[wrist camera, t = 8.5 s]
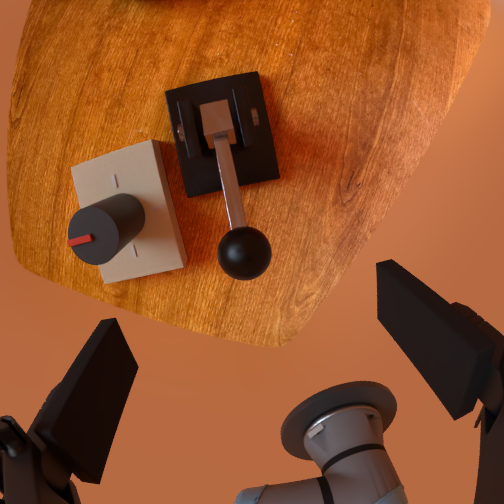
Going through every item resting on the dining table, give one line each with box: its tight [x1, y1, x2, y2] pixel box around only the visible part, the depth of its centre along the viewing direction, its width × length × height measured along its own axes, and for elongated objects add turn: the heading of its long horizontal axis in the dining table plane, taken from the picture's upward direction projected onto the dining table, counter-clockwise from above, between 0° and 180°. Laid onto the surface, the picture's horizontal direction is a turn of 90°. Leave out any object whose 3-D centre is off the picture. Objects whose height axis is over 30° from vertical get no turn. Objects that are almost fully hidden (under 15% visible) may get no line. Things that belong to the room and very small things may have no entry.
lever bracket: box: [165, 71, 280, 198], centre depth 25 cm, size 12×10×12 cm
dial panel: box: [71, 140, 187, 284], centre depth 31 cm, size 14×10×3 cm
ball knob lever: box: [199, 99, 272, 280], centre depth 21 cm, size 13×4×4 cm, turn 11°
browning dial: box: [68, 193, 145, 265], centre depth 26 cm, size 5×5×8 cm
